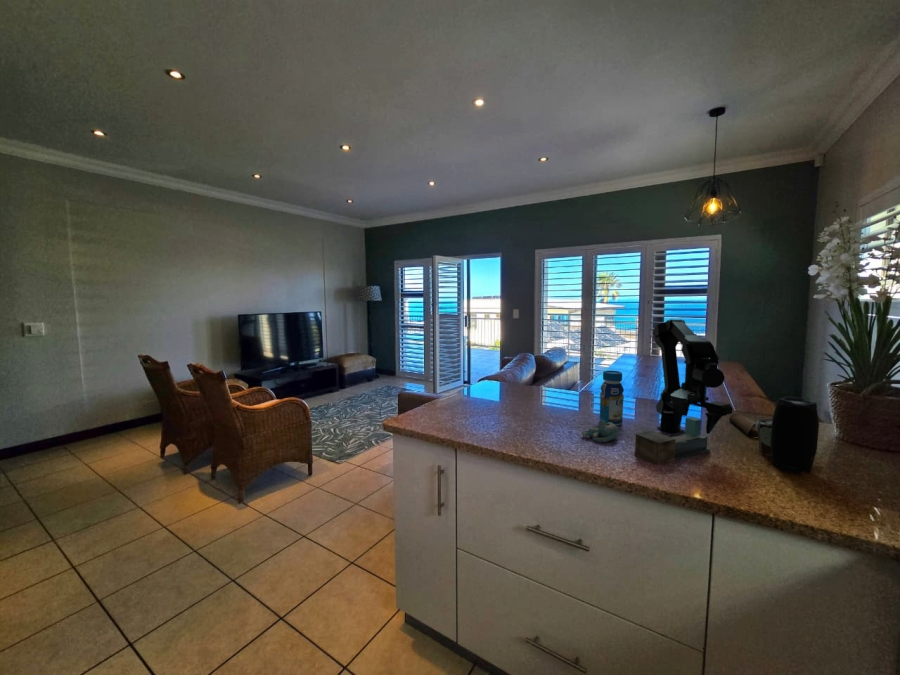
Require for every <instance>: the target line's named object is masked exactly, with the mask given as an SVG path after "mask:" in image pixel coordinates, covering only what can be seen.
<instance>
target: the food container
mask: <svg viewBox="0 0 900 675" xmlns="http://www.w3.org/2000/svg"><path fill="white" fill-rule="evenodd" d="M772 418H773V417H772ZM772 418H769V417H763V418H759V419H757V421H756V422H757V423H756V425H755V427H756V428H757V429H758V437H759V438H758V449H759V450H758V452H760V453H761V454H760V453H759V454H760V455H762V454H766V455H765V456H772V454H771V430H772Z"/></svg>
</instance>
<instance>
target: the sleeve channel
mask: <svg viewBox="0 0 900 675" xmlns="http://www.w3.org/2000/svg"><path fill="white" fill-rule="evenodd" d="M684 434H686V433H685V431H684V432H680V433H675V434H672V433H670V434H666V436H668V437H675V436H680V435H684ZM709 453H711V448H708V436H705V435H704V436H700V437H699V438H695V439H690V440H686V441H682V442H677V443H675V461H674V462H677V461H680V460H681V459H682V460H684V459H688V458H689V459H690V458H693V457H696V456H701V455H703V454H709Z"/></svg>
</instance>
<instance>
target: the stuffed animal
mask: <svg viewBox="0 0 900 675" xmlns="http://www.w3.org/2000/svg"><path fill="white" fill-rule="evenodd" d="M599 422H600V423H599V426H598V427H590V428H589V429H588V430H581V435H582V437H584V438H585V437H592V441H595V442H597V443H602V442H606V443H608V442H610V441H612V440H615V439H617V438H618V436H619V432H620V430H619V427H618V425H617V426H616V425H615V424H613V423H612V422H605V421H604V420H602V419H601V420H600V419H599Z"/></svg>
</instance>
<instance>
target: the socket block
mask: <svg viewBox="0 0 900 675" xmlns="http://www.w3.org/2000/svg"><path fill="white" fill-rule="evenodd" d="M675 440H676V439H674V438H671V437H668V436H667V435H666V434H662V433H659V432H656V431H654V430H650V431H645V432H640V433H635V448H634V456H636V457H638V458H640V459H643V460H645V461H648V462H649V461H650V462H649V463H652V464H654V465H656V466H662V465H665V464H670V463H674V462H676V461H675Z"/></svg>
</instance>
